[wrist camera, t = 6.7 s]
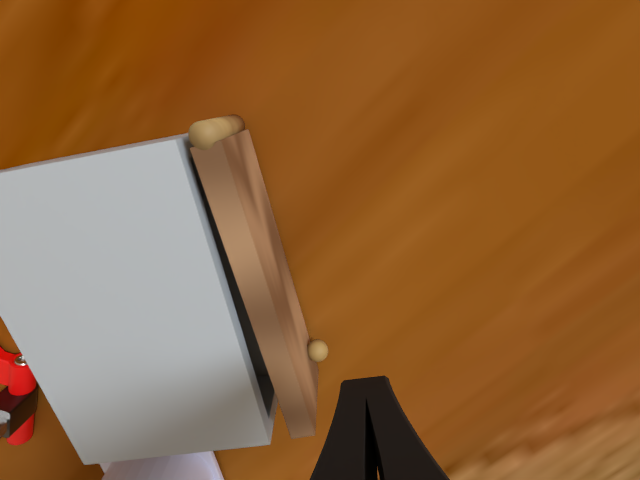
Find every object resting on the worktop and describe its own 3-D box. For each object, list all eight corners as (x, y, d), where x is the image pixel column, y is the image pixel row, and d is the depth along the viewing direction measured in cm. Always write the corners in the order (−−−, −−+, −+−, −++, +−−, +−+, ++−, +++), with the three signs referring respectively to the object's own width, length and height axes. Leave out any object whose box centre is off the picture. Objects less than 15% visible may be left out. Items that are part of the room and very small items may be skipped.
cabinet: (282, 374, 23) (270, 444, 19) (131, 394, 24) (84, 465, 20) (215, 127, 18) (175, 139, 14) (27, 164, 19) (-72, 186, 14)
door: (219, 117, 18) (181, 125, 13) (265, 105, 17) (243, 109, 13) (299, 373, 23) (291, 438, 19) (336, 366, 23) (337, 432, 18)
